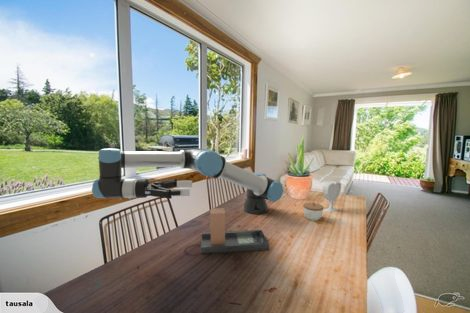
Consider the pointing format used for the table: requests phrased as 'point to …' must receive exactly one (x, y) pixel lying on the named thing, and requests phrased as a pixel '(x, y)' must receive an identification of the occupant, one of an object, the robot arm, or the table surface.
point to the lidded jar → (313, 211)
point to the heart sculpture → (331, 194)
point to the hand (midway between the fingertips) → (190, 187)
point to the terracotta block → (217, 226)
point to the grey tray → (236, 242)
